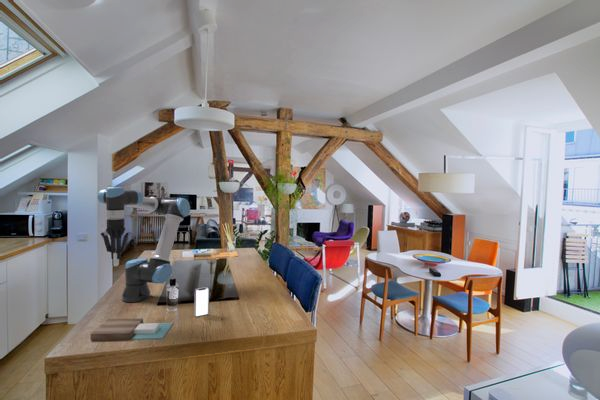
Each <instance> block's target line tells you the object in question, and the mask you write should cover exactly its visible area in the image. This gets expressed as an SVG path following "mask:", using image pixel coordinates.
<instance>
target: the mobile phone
mask: <svg viewBox="0 0 600 400" xmlns="http://www.w3.org/2000/svg"><path fill="white" fill-rule="evenodd" d="M193 307H194V317H195V318H197V317H198V318H200V317H203V316H207V315H209V312H210V288H209V287H208V286H206V287H199V288H195V290H194V306H193Z"/></svg>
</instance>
